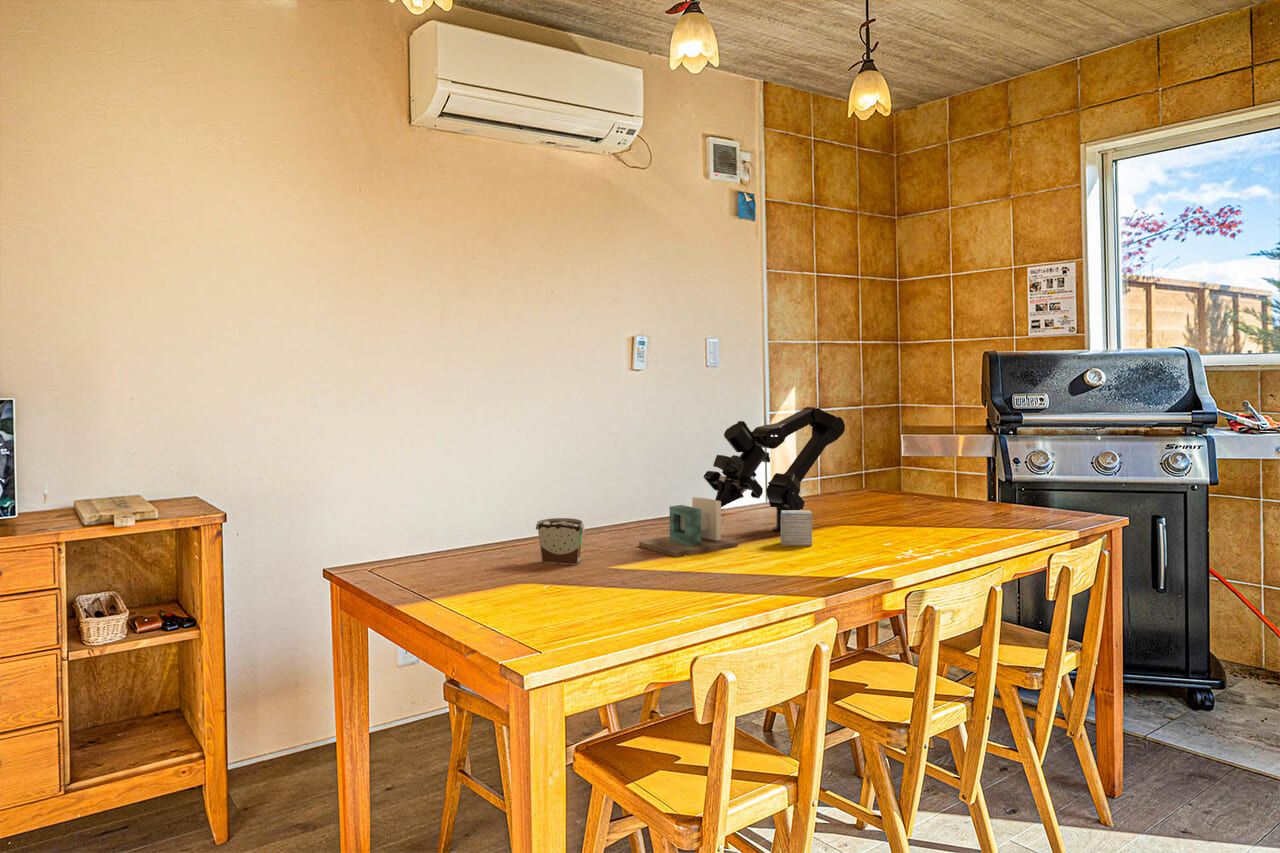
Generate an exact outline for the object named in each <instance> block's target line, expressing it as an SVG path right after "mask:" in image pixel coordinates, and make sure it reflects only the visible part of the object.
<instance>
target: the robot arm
mask: <svg viewBox="0 0 1280 853" xmlns="http://www.w3.org/2000/svg"><path fill="white" fill-rule="evenodd" d="M808 425H809V427H811V437H810V438H809V439H808V442H806V444H805V445H804V446H803V448H802V450H801V451H800V452H799V453H798V455H797V456H796V458H795V459H794V460H793V462H792V463H791V464H790V466H789V468H788V469H787V470H786V472H784V473H778V472H777V473H774V474H773V477H772V478H771V480H769V482H768V483H767V484H768V486H767V487H766V490H765V491H766V498H767V500H768V503H769V506H770V507H771V508H776V510H775V512H776V514H775V515H776V516H775V518H776V522H775V523H776V524H775V525H776V526H774V527H773V528H772V529H771V530H772V531H776V532H781V518H780V517H781V510H803V509H804V507H805V501H804V499H803V498H802V497H801V496H800V492H801V484H802V481H803V479H804V478H805V477H806V475H807V474H808V472H809V471H810V470H811V468H812V467H813V466H814V464H815V463H816V461H817V460H818V458H819V457H820V455H821V454H822V453H823V451H824V450H825V448H826V447H827V446H829V445H831V444H833V443H834V442H836V441H837V440H838V439H839V438H841V436H842V435H843V434H844V433H845V430H846V424H845V421H844V419H843V418H842V417H841V416H836V415H833V414H831V413H829V412H827V411H825V410H822V409H821V408H819V407H817V406H816V407H815V406H806V407H804V408H802V409H801V410H799V411H797V412H795V413H793V414H791V415H789V416H788V417H786V418H784V419H781V420H780V421H778V422H775V423H769V424H765V425H760V426H757V427H755V428H754V429H753V431H751V429H750V428H749V427H748V425H747V423H746V422H745V421H743V420H739V421H737V422H736V423H735V424H732V425H731V426H729V427H728V428H726V430H725V431H724V433H723V436H724V439H725V440H726V442H728V444H729V445H730V446H731V447H732V448H733V450H734V451H735V452H736V453H741V454H740V455H734V454H733V455H732V456H727V455H722V454H716V457H715V459H714V461H713V464H712V466H713V467H714V468H718V469H720V470H722V471H721V473H722V474H721V473H720V472H719V471H714V470H707V471H706V472H705V474H704V475H703V479H704V480H705V481H706V482H707V483H708V485H709V486H710V487H711V488H712V490H714V491H717V492H716V497H715V499H714V500H717V501H721V508H723V507H724V506H727V505H728V504H730V503H732V502H735V501H736V500H739V499H743V498H744V497H745V495H743V494H744V493H745V492H747V491H751V492H750V497H752V498H753V499H760V498H761V496H762V495H763V493H764V492H763V488H764V487H762V486H761V484H760V483H759V482H758V481H757V479H756V476H757V473H756V471H757V469H758V468H759V466H760V465H761V463H768V464H769V463H771V457H770V452H766V451H765V449H771V450H773V449H777V448H778V447H779V446H780V445H782V444H784V442H785V440H786V438H787V437H789V436H790V435H791V434H793V433H795V432H798V431H799V430H801V429H803V428H805V427H807V426H808Z"/></svg>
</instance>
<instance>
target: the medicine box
mask: <svg viewBox="0 0 1280 853" xmlns="http://www.w3.org/2000/svg"><path fill="white" fill-rule="evenodd" d="M780 518H781V531H780V544H781V546H782V547H783V546H785V547H786V546H787V547H789V546H791V547H792V546H794V547H797V546H798V547H799V546H801V547H803V546H805V547H806V546H807V547H810V546H813V513H812V511H811V510H807V509H806V510H805V509H804V510H803V509H801V510H781V517H780Z"/></svg>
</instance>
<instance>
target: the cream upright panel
mask: <svg viewBox="0 0 1280 853" xmlns="http://www.w3.org/2000/svg"><path fill="white" fill-rule="evenodd" d="M691 501H692V502H691V507H694V508H698V509H701V536H702V537H705V538H709V539H713V540H721V538H722V507H721V501H717V500H715V499H710V498H707V497H702V496H701V497H700V496H693V497H692V498H691ZM680 526H681V530H684V531H685V516H682V515H680Z"/></svg>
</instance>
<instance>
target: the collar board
mask: <svg viewBox="0 0 1280 853" xmlns="http://www.w3.org/2000/svg"><path fill="white" fill-rule="evenodd" d="M680 515H682V516H685V531H684V530H681V526H680ZM638 546H639V547H641V548H644V547H645V548H644V549H647V548H648V549H647V550H650V549H651V550H652V551H654V550H655V551H654V552H657V551H658V553H660V552H661V554H664V553H665V554H664V555H667V554H668V556H670V555H672V556H671V557H673V556H675V557H674V558H679V557H678V556H681V557H685V556H684V555H687V556H691V555H690V554H692V555H697V554H696V553H698V554H702V552H704V553H709V552H708V551H710V552H714V551H713V550H715V551H720V550H719V549H721V550H726V549H725V548H727V549H731V548H730V547H732V548H737V547H736V546H738V547H739V541H736V540H734V539H733V540H732V539H728V538H723V537H721V540H713V539H709V538H705V537H702V536H701V509H698V508H694V507H692V506H689V505H685V504H678V505H670V506H669V536H666V537H660V538H659V537H658V538H652V539H646V540H640V541H638Z"/></svg>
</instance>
